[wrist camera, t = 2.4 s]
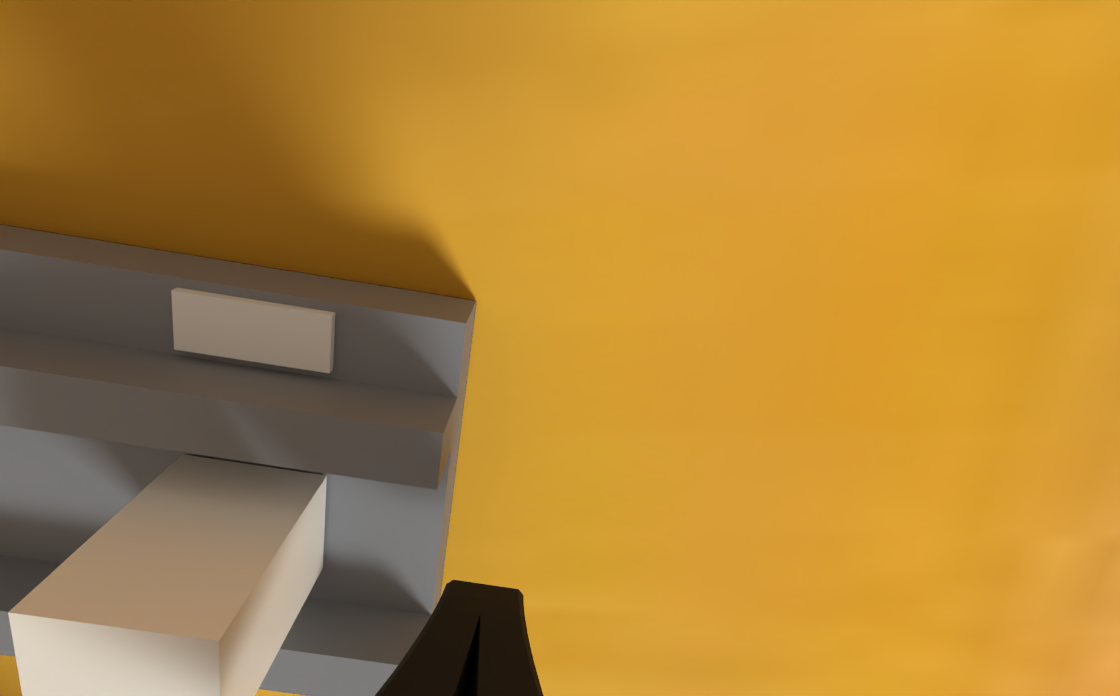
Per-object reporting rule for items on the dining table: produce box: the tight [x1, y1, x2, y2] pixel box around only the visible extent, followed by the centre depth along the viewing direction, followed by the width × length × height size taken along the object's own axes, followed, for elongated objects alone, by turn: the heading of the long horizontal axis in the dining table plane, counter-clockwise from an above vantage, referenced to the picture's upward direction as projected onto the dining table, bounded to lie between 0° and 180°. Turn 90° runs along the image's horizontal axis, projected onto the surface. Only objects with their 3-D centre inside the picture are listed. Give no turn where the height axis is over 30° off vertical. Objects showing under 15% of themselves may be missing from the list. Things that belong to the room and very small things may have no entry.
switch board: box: [0, 225, 476, 696], centre depth 14 cm, size 10×16×3 cm, turn 81°
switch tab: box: [8, 454, 327, 696], centre depth 12 cm, size 2×3×4 cm
